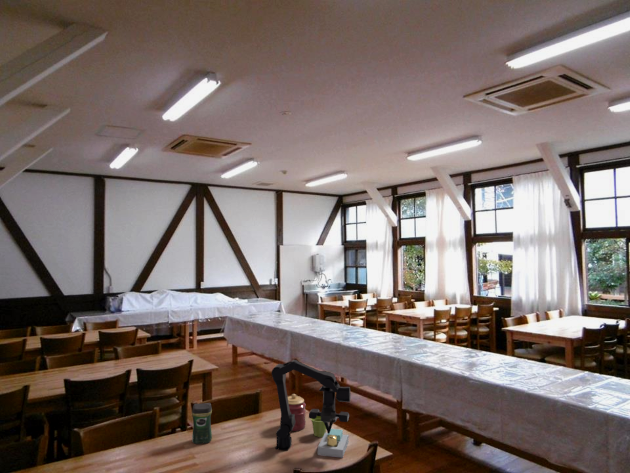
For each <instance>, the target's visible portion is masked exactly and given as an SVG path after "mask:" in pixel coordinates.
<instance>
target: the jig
mask: <svg viewBox="0 0 630 473" xmlns="http://www.w3.org/2000/svg"><path fill="white" fill-rule="evenodd" d="M327 434H328V433H327V432H326V433H325V434H324V436H323V437H321V439H320V442H319V444H318V445H317V455H318V456H322V457H323V456H324V457H333V458H343V459H344V456H345V453H346V450H347V448H348V445H349V439H350V438H349V434H344V433H343V435H342V438H341V440H340V441H339V440H337V447H330V446H327Z"/></svg>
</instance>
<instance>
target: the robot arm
mask: <svg viewBox="0 0 630 473" xmlns="http://www.w3.org/2000/svg"><path fill="white" fill-rule="evenodd" d="M292 371H295V372H297V373H300V374H302V375H305V376H307V377H309V378H312V379H314V380H315V381H317V382H318V383H319V384H320V385H322V386H321V387H320V388H319V390H318V391H319V392H322V394H323V396H322V408H321V411H320V409H319V408H311V410H310V411H308V412H309V413H308V419H310V420H311V419H315V418H316V417H317V416H321V421H323V422H324V424H325V427H326V433H328V434H330V431H331V429H333V428H332V427H333V425H334V423H336V422H337V420H339V422H341V423H348V421H349V420H350V419H349V418H350V413H349V412H348V411H340V412H339V413H337V412H336V400H337V402H342V403H343V402H345V403H351V397H352V394H351V387H350V386H341V385H340V384H339V381H337V378H336V375H335V374H334V372H329V371H324V370H320V369H319V370H318V369H316V368H314V367H312V366H309V365H308V364H306V363H303V362H301V361H298V360H297V359H292V360H290V361H288V362H285V363H278V364H276V365H274V367H273V368H272V370H271V377H272V379H273V382H274V383H275V385H276V390H277V396H278V403H279V409H280V420H279V421H280V425H279V427H278V429H277V431H276V432H275V436H276V446H275V448H274V449H275V450H280V451H289V450H290V448H291V447H292V442H293V441H292V435H291V432H293V431H292V429H293V427H294V425H295V422H296V421H295V418H294V414H291V412H290V409H289V403H288V397H289V396H288V392H287V385H286V379H287V373H290V372H292Z"/></svg>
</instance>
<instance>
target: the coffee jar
mask: <svg viewBox="0 0 630 473" xmlns="http://www.w3.org/2000/svg"><path fill="white" fill-rule="evenodd" d="M212 411H213V409H212V404H211V402H206V403H205V402H204V403H194V404H193V406H192V411H191V412H192V413H191V414H192V417H193V420H192V421H193V424H192V425H193V426H192V433H191V434H192V435H191V437H192V438H191V442H192V444H195V445H201V444H202V443H203V444H209V443H210V442H211V441H212V439H213V433H212V432H213V431H212V425H211V424H212V423H211V415H212V413H213V412H212Z"/></svg>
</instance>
